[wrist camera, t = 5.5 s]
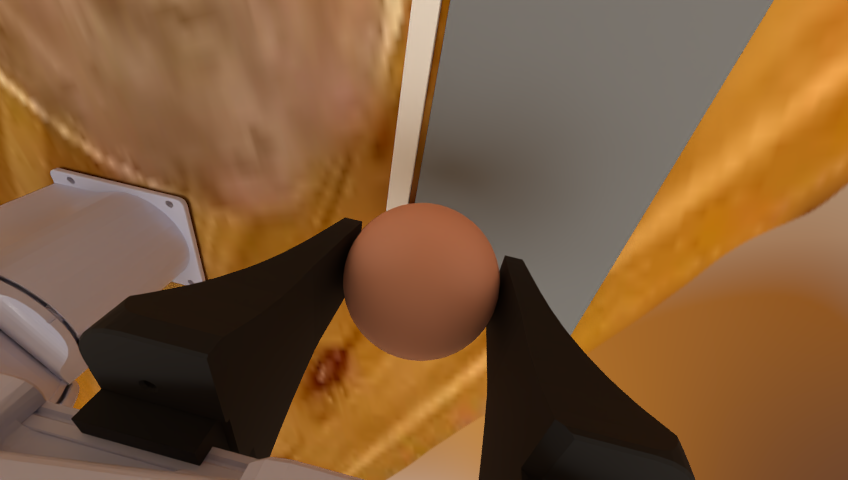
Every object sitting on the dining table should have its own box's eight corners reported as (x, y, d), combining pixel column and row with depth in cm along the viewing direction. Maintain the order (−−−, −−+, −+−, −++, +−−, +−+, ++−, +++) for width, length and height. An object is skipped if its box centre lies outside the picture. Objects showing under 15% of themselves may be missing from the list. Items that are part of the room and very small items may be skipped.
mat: (377, 288, 26) (375, 293, 25) (424, -81, 14) (422, -83, 14) (567, 335, 25) (568, 340, 25) (773, -12, 14) (782, -12, 13)
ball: (366, 272, 15) (316, 371, 11) (375, 163, 12) (314, 243, 8) (480, 300, 15) (473, 412, 11) (517, 195, 12) (526, 294, 8)
